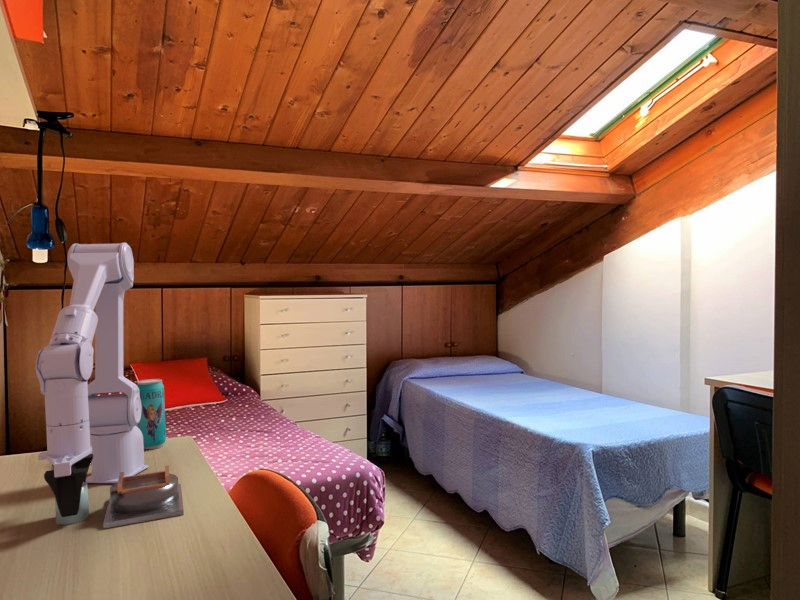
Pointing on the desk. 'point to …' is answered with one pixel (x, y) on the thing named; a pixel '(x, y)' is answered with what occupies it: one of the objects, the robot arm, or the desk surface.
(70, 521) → the cylinder
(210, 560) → the desk surface
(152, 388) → the beverage can
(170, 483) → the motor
